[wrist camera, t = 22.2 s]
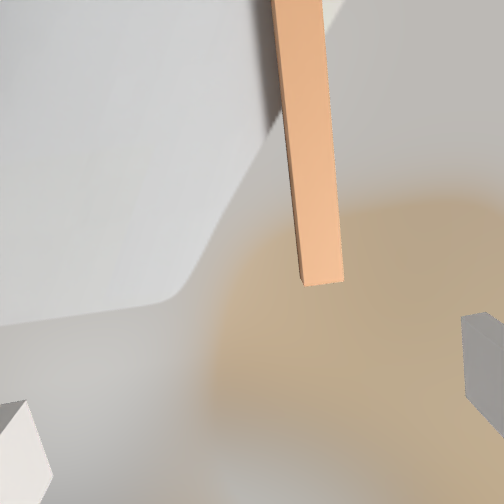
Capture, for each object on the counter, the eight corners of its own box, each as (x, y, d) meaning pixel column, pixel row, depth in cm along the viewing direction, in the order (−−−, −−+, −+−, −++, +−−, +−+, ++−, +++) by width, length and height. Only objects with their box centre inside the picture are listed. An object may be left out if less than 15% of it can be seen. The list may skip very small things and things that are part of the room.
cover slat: (337, 272, 48) (344, 281, 45) (299, 277, 48) (304, 286, 45) (312, -22, 40) (319, -34, 38) (268, -17, 40) (271, -28, 38)
